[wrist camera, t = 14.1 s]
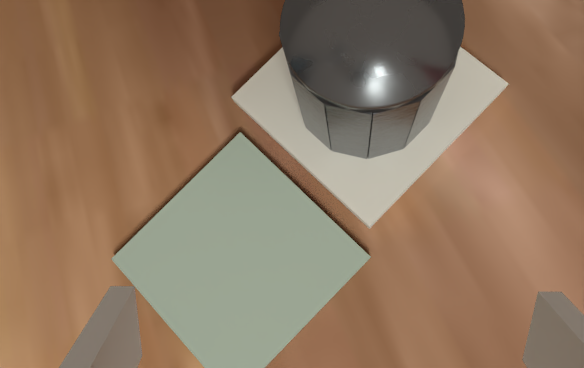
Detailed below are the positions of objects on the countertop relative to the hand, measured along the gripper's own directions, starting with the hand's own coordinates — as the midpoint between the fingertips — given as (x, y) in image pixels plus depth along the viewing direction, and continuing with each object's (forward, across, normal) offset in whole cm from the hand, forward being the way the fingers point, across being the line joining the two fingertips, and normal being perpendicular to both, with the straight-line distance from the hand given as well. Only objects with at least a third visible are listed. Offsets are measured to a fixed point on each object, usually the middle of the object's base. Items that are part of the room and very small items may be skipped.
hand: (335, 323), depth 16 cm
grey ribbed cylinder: (+24, +4, +4) cm, 25 cm away
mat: (+19, -5, -8) cm, 21 cm away
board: (+25, +4, +3) cm, 25 cm away
